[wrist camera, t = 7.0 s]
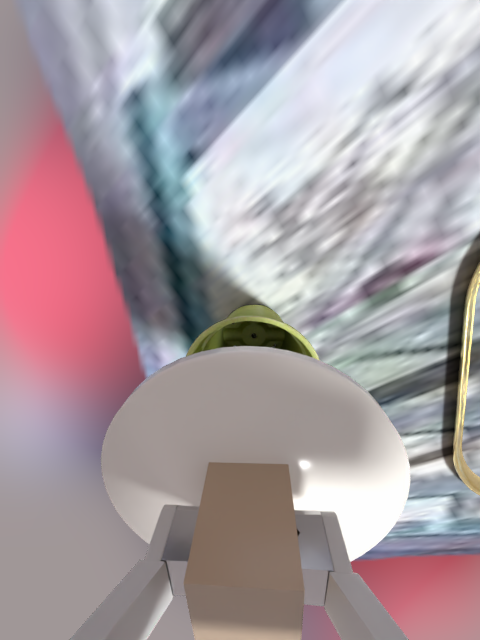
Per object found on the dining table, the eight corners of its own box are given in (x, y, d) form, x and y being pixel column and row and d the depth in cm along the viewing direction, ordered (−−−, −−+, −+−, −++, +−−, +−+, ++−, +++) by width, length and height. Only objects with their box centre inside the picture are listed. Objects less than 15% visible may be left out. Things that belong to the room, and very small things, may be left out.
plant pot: (187, 336, 26) (154, 387, 17) (247, 264, 23) (242, 285, 15) (257, 389, 27) (257, 458, 19) (322, 328, 24) (354, 379, 16)
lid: (427, 344, 8) (590, 454, 4) (376, 566, 12) (433, 730, 8) (80, 347, 9) (-59, 441, 5) (139, 553, 13) (87, 695, 9)
